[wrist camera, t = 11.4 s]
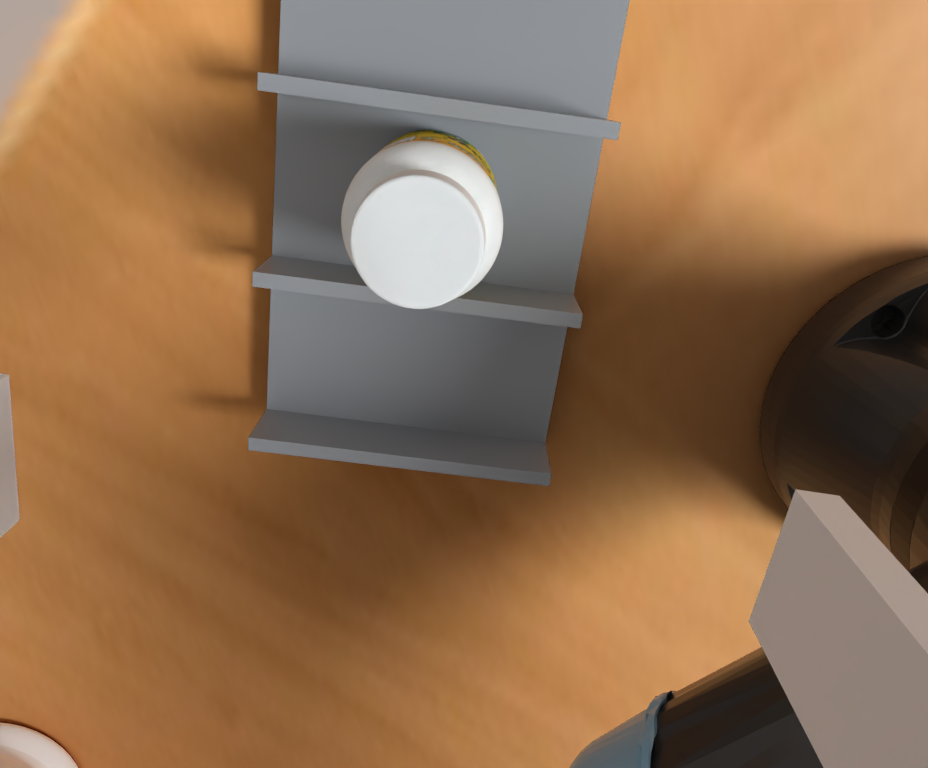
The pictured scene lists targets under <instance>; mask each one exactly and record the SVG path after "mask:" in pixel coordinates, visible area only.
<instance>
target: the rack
mask: <svg viewBox="0 0 928 768" xmlns="http://www.w3.org/2000/svg"><path fill="white" fill-rule="evenodd" d="M628 6H629V0H281V10H280V38H279V67H278V73H265V72H258V82H257V90H260V91H267V92H274V93H278V96H277V125H276V154H275V183H274V211H273V240H272V256H270V257H269V258H268V259H267V260H266V261H265V262H263V263H262V264H261V265H260V266H259V267H258V268H256V269H255V270H254V271H253V280H252V287H260V288H267V289H271V298H270V327H269V356H268V384H267V409H266V411H265V412H264V414H263V416H262V417H261V419H260V420H259V422H258V423H257V425H256V427H255V428H254V430H253V431H252V433H251V434H250V436H249V439H248V450H251V451H260V452H268V453H276V454H285V455H293V456H301V457H310V458H318V459H326V460H335V461H343V462H351V463H360V464H368V465H376V466H385V467H393V468H402V469H410V470H418V471H427V472H435V473H443V474H452V475H460V476H468V477H477V478H485V479H493V480H502V481H510V482H518V483H527V484H535V485H543V486H549V485H550V480H551V475H552V473H551V469H550V464H549V459H548V454H547V449H546V444H545V442H546V437H547V431H548V426H549V421H550V416H551V410H552V405H553V400H554V395H555V389H556V384H557V379H558V374H559V368H560V363H561V358H562V353H563V347H564V342H565V337H566V332H567V327H571V328H579V329H580V328H581V323H582V318H583V313H582V311H581V309H580V307H579V305H578V303H577V301H576V299H575V296H574V290H575V284H576V279H577V274H578V268H579V263H580V258H581V253H582V247H583V242H584V237H585V232H586V226H587V221H588V216H589V211H590V205H591V200H592V195H593V190H594V184H595V179H596V174H597V169H598V163H599V158H600V153H601V148H602V142H603V138H606V139H613V140H618V135H619V130H620V125H621V123H620V122H616V121H612V120H608V119H607V116H608V111H609V106H610V100H611V95H612V90H613V85H614V79H615V74H616V69H617V63H618V58H619V53H620V48H621V42H622V37H623V32H624V27H625V21H626V16H627V11H628ZM423 129H434V130H440V131H444V132H447V133H451V134H453V135H456V136H459V137H461V138H463V139H464V140H466V141H468V142H469V143H470V144H472V145H473V146H474V147H475V148H476V149H477V150H478V151H479V152H480V153H481V154H482V155H483V157H484V158H485V159H486V161H487V163H488V164H489V166H490V168H491V170H492V173H493V175H494V179H495V182H496V187H497V190H498V194H499V198H500V202H501V206H502V212H503V236H502V242H501V246H500V249H499V252H498V255H497V257H496V260H495V261H494V263H493V265H492V267H491V269H490V270H489V271H488V273H487V274H486V275H485V277H484V278H483V279H482V280H481V281H480V282H479V283H478V284H477V285H476V286H475V287H473V288H472V289H471V290H469V291H468V292H466V293H465V294H463V295H461V296H459V297H457V298H455V299H453V300H451V301H449V302H447V303H445V304H443V305H440V306H436V307H432V308H426V309H412V308H405V307H401V306H398V305H395V304H392V303H390V302H388V301H386V300H384V299H383V298H381V297H380V296H378V295H377V294H375V293H374V292H373V291H372V290H371V289H370V288H369V287H368V286H367V285H366V284H365V282H364V281H363V279H362V278H361V276H360V275H359V273H358V271H357V269H356V268H355V266H354V265H353V263H352V261H351V259H350V257H349V255H348V253H347V250H346V248H345V244H344V241H343V236H342V228H341V214H342V207H343V203H344V199H345V195H346V192H347V190H348V188H349V186H350V184H351V182H352V180H353V178H354V177H355V175H356V174H357V173H358V171H359V170H360V169H361V168H362V166H363V165H364V164H365V163H366V162H368V161H369V160H370V159H371V158H372V157H373V156H374V155H376V154H377V153H378V152H379V151H380V150H382V149H383V148H384V147H385V146H387V145H388V144H389V143H390V142H392V141H393V140H395V139H396V138H398V137H400V136H402V135H404V134H406V133H409V132H412V131H416V130H423Z"/></svg>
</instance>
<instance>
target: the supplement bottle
mask: <svg viewBox="0 0 928 768" xmlns="http://www.w3.org/2000/svg"><path fill="white" fill-rule="evenodd" d="M341 228H342V236H343V241H344V244H345V248H346V250H347V253H348V255H349V257H350V259H351V261H352V263H353V265H354V266H355V268H356V269H357V271H358V273H359V275H360V276H361V278H362V279H363V281H364V282H365V284H366V285H367V286H368V287H369V288H370V289H371V290H372V291H373V292H374V293H375V294H377V295H378V296H380V297H381V298H383V299H384V300H386V301H388V302H390V303H392V304H395V305H398V306H401V307H405V308H412V309H426V308H432V307H436V306H440V305H443V304H445V303H447V302H449V301H451V300H453V299H455V298H457V297H459V296H461V295H463V294H465V293H466V292H468V291H469V290H471V289H472V288H473V287H475V286H476V285H477V284H478V283H479V282H480V281H481V280H482V279H483V278H484V277H485V275H486V274H487V273H488V271H489V270H490V269H491V267H492V265H493V263H494V261H495V260H496V257H497V255H498V252H499V249H500V246H501V242H502V236H503V212H502V206H501V202H500V198H499V194H498V190H497V187H496V182H495V179H494V175H493V173H492V170H491V168H490V166H489V164H488V163H487V161H486V159H485V158H484V157H483V155H482V154H481V153H480V152H479V151H478V150H477V149H476V148H475V147H474V146H473V145H472V144H470V143H469V142H468V141H466V140H464V139H463V138H461V137H459V136H456V135H453V134H451V133H447V132H444V131H440V130H434V129H423V130H416V131H412V132H409V133H406V134H404V135H402V136H400V137H398V138H396V139H395V140H393V141H392V142H390V143H389V144H388V145H387V146H385V147H384V148H383V149H382V150H380V151H379V152H378V153H377V154H376V155H374V156H373V157H372V158H371V159H370V160H369V161H368V162H366V163H365V164H364V165H363V166H362V168H361V169H360V170H359V171H358V173H357V174H356V175H355V177H354V178H353V180H352V182H351V184H350V186H349V188H348V190H347V192H346V195H345V199H344V203H343V207H342V214H341Z"/></svg>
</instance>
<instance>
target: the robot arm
mask: <svg viewBox="0 0 928 768" xmlns="http://www.w3.org/2000/svg"><path fill="white" fill-rule="evenodd" d="M760 443H761V451H762V457H763V461H764V465H765V468H766V471H767V474H768V476H769V479H770V481H771V483H772V485H773V487H774V488H775V490H776V492H777V494H778V495H779V496H780V498H781V499H782V501H783V502H784V503H785V505H786V506H787V507H788V512H787V515H786V518H785V521H784V523H783V526H782V529H781V532H780V535H779V537H778V540H777V543H776V546H775V549H774V552H773V554H772V557H771V560H770V563H769V566H768V569H767V571H766V574H765V577H764V580H763V583H762V586H761V588H760V591H759V594H758V597H757V600H756V603H755V605H754V608H753V611H752V614H751V617H750V620H749V623H750V625H751V627H752V629H753V631H754V633H755V635H756V637H757V639H758V641H759V643H760V645H761V646H762V647H761V648H759V649H757V650H755V651H753V652H751V653H749V654H747V655H746V656H744V657H742V658H740V659H738V660H736V661H734V662H732V663H730V664H728V665H727V666H725V667H723V668H721V669H719V670H717V671H715V672H713V673H711V674H709V675H708V676H706V677H704V678H702V679H700V680H698V681H696V682H694V683H692V684H690V685H689V686H687V687H685V688H683V689H681V690H679V691H677V692H676V691H670V692H668V693H662V694H661V695H659V696H656V697H655V698H654V699H653V700H652V702H651V703H650V705H649V707H648V708H647V709H646V710H644V711H642V712H641V713H639V714H637V715H636V716H634V717H632V718H631V719H629V720H627V721H626V722H624V723H622V724H621V725H619V726H617V727H616V728H614V729H613V730H611V731H609V732H608V733H606V734H604V735H603V736H601V737H599V738H598V739H596V740H594V741H593V742H591V743H590V744H589V745H588V746H587V747H585V748H584V749H583V750H582V751H581V753H580V754H579V755H578V756H577V757H576V759H575V760H574V761H573V763H572V764H571V766H570V768H928V256H927V257H922V258H918V259H914V260H910V261H906V262H903V263H900V264H897V265H894V266H891V267H889V268H886V269H884V270H882V271H879V272H877V273H875V274H873V275H871V276H869V277H867V278H865V279H863V280H861V281H860V282H858V283H856V284H854V285H853V286H851V287H850V288H848V289H847V290H845V291H844V292H842V293H841V294H839V295H838V296H837V297H835V298H834V299H833V300H831V301H830V302H829V303H828V304H827V305H825V306H824V307H823V308H822V309H821V310H820V311H819V312H818V313H817V314H816V315H815V316H813V317H812V318H811V319H810V321H809V322H808V323H807V324H806V325H805V326H804V327H803V328H802V329H801V331H800V332H799V333H798V334H797V336H796V337H795V338H794V339H793V341H792V342H791V344H790V345H789V346H788V348H787V349H786V351H785V353H784V354H783V356H782V358H781V359H780V361H779V363H778V365H777V367H776V369H775V371H774V373H773V376H772V378H771V380H770V383H769V386H768V389H767V391H766V395H765V399H764V402H763V407H762V413H761V422H760ZM19 520H20V516H19V503H18V489H17V476H16V462H15V449H14V435H13V422H12V408H11V395H10V381H9V375H8V374H1V373H0V538H1V537H2V536H3V535H4V534H5V533H6V532H7V531H8V530H10V529H11V528H12V527H13V526H14V525H15V524H16V523H17V522H18V521H19Z"/></svg>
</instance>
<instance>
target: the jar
mask: <svg viewBox="0 0 928 768" xmlns="http://www.w3.org/2000/svg"><path fill="white" fill-rule="evenodd" d="M0 768H78V766H77V765H76V763H75V762H74V760H73V759H72V757H71V756H70V755H69V754H68V753H67V752H66V751H65V750H64V749H63V748H62V747H61V746H60V745H58V744H57V743H56V742H55V741H53V740H52V739H50V738H48V737H47V736H45V735H43V734H41V733H39V732H37V731H34V730H32V729H29V728H26V727H23V726H19V725H15V724H9V723H0Z"/></svg>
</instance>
